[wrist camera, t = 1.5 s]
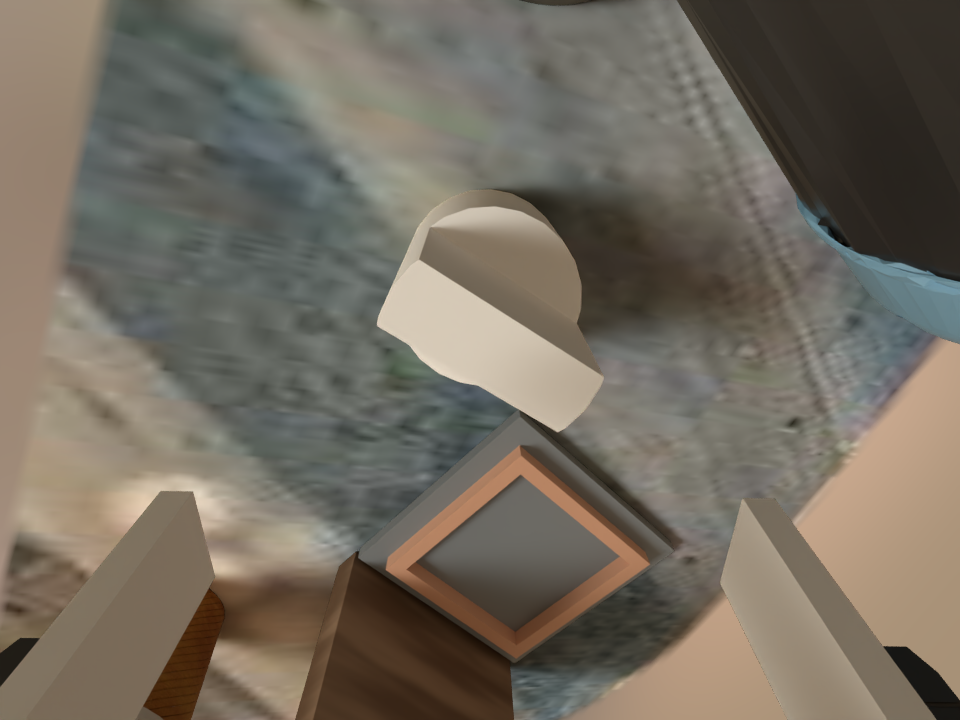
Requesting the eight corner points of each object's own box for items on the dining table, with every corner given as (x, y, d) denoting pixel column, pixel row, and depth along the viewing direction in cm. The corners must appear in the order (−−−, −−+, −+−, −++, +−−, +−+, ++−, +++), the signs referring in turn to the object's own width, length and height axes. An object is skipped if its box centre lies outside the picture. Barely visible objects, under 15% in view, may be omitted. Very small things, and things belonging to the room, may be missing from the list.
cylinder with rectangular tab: (594, 247, 32) (660, 320, 21) (504, 367, 35) (520, 486, 24) (462, 155, 29) (458, 180, 18) (378, 291, 32) (332, 382, 21)
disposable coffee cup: (137, 543, 40) (10, 707, 29) (264, 589, 42) (191, 758, 31) (104, 626, 43) (-21, 802, 32) (223, 665, 45) (144, 843, 34)
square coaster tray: (518, 408, 36) (521, 426, 34) (670, 541, 40) (680, 563, 38) (360, 547, 40) (354, 570, 38) (513, 652, 45) (515, 677, 43)
